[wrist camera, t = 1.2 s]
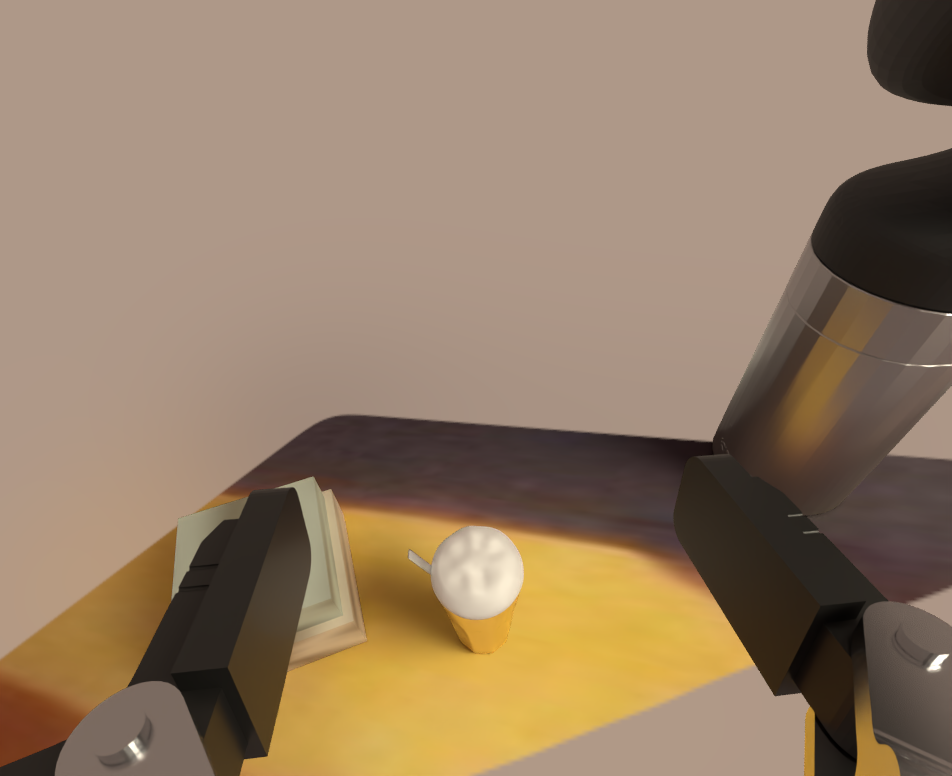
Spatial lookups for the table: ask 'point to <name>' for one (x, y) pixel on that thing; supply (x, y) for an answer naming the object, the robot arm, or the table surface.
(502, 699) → the table surface
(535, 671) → the table surface
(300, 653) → the tower base
